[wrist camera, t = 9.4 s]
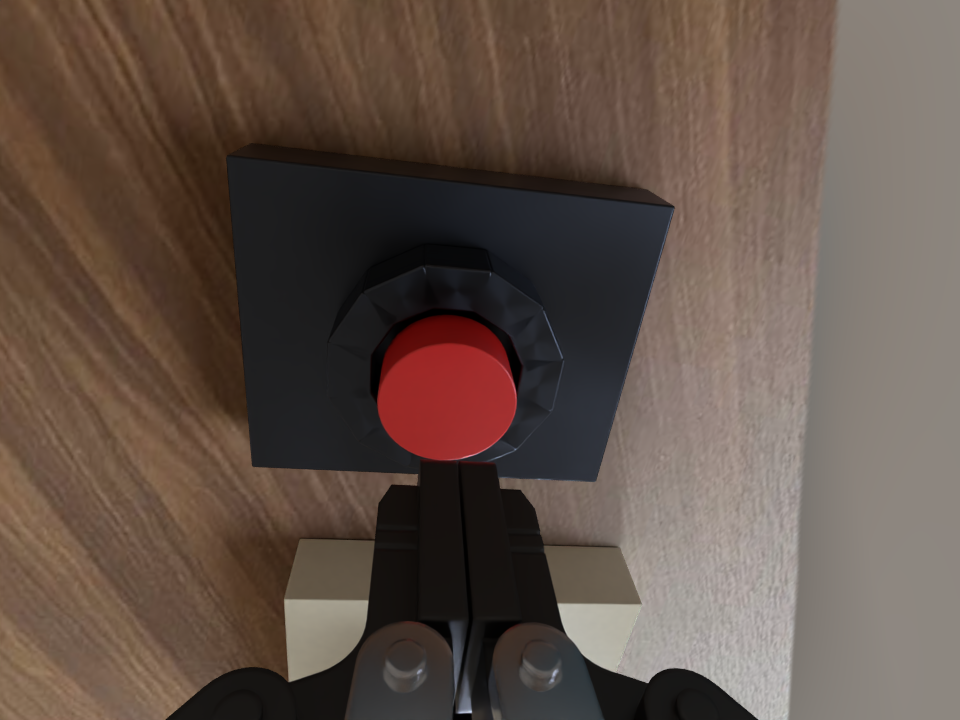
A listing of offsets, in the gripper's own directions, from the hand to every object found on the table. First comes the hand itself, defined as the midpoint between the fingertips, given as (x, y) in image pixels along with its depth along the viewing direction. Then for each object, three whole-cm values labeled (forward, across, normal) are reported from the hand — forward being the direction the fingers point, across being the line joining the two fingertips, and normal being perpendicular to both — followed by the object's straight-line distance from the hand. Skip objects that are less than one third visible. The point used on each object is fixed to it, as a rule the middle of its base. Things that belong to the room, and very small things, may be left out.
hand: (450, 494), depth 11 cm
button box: (+9, 0, 0) cm, 9 cm away
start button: (+5, 0, 0) cm, 5 cm away
